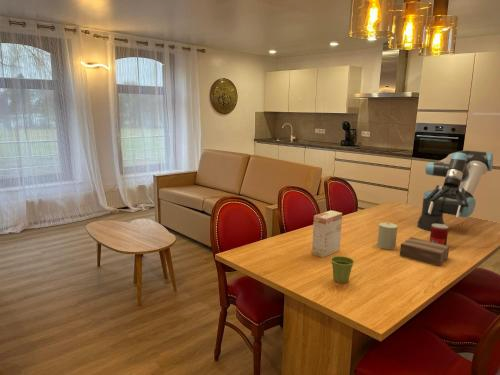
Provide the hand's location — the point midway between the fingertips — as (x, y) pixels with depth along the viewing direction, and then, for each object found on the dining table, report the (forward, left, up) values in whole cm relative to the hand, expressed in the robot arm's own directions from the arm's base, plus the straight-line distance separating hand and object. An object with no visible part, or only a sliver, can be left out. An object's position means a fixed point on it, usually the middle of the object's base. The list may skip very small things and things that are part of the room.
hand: (442, 215), depth 194 cm
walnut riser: (+24, 0, -16) cm, 29 cm away
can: (+23, -19, -16) cm, 34 cm away
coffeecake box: (+53, -37, -16) cm, 67 cm away
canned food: (+2, 0, -16) cm, 16 cm away
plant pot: (+76, -16, -16) cm, 79 cm away
